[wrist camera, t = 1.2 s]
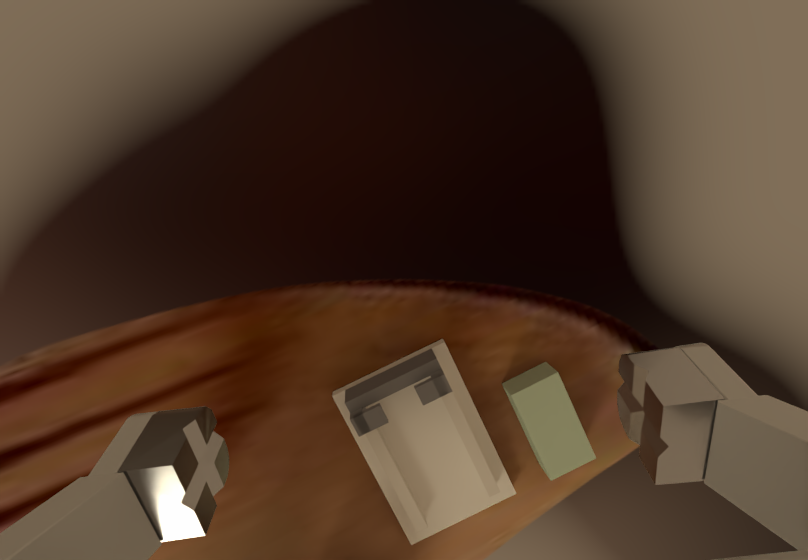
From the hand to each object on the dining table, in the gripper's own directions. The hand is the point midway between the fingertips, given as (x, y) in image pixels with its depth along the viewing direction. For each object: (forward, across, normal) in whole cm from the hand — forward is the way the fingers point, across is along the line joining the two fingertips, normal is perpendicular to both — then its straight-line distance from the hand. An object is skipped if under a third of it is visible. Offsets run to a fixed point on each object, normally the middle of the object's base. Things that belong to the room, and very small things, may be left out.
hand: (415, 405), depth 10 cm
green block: (+33, +10, -31) cm, 47 cm away
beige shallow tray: (+31, -2, -31) cm, 44 cm away
